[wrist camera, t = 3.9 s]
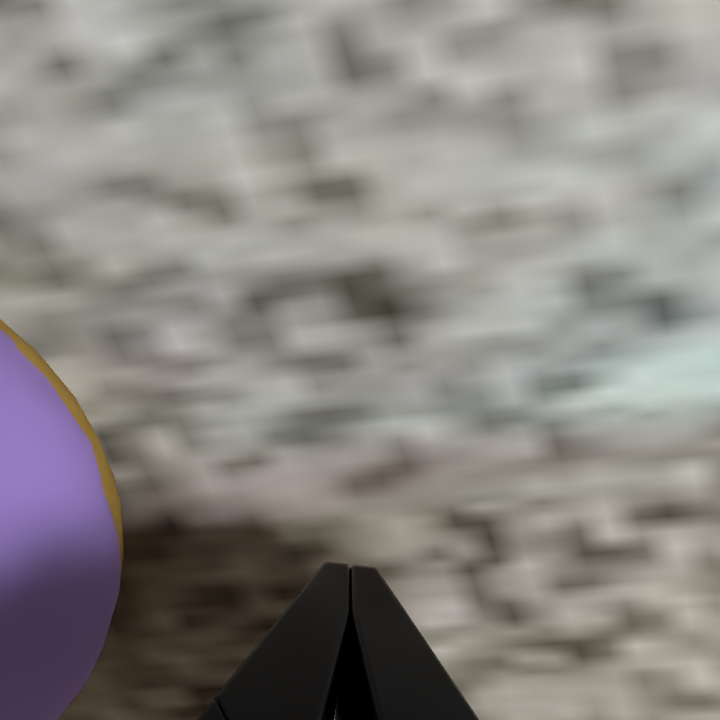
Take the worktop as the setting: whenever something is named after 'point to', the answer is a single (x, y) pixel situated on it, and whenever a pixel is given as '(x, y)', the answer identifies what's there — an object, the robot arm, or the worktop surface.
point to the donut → (51, 538)
